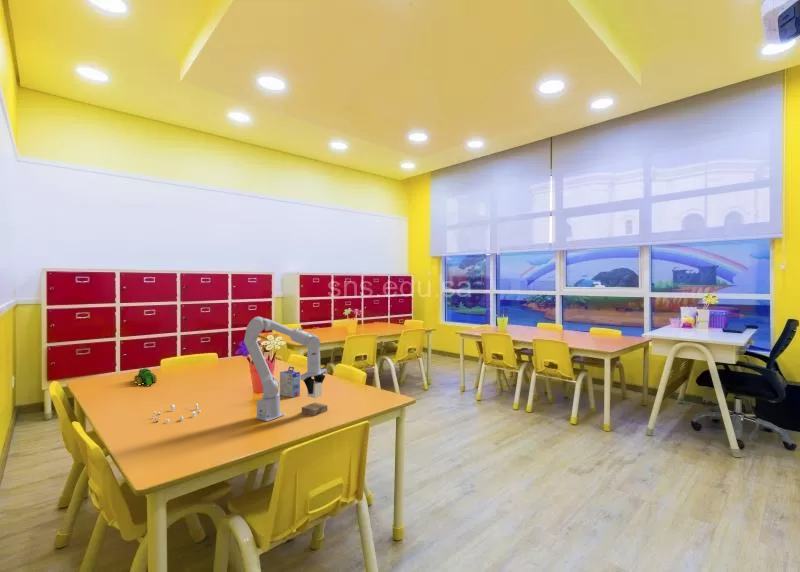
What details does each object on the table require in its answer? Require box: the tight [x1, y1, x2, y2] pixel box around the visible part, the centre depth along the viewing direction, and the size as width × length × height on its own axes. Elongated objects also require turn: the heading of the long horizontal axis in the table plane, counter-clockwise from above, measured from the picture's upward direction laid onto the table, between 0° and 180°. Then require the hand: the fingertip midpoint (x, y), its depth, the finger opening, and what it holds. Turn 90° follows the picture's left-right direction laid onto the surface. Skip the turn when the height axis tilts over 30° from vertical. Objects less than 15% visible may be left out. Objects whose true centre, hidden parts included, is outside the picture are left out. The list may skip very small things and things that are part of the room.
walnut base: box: [301, 402, 328, 417], centre depth 177 cm, size 8×8×3 cm
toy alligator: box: [133, 367, 158, 386], centre depth 238 cm, size 10×32×9 cm, turn 43°
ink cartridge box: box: [279, 366, 301, 398], centre depth 204 cm, size 10×6×14 cm, turn 58°
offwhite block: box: [307, 381, 323, 399], centre depth 177 cm, size 4×5×6 cm
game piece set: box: [152, 403, 202, 423], centre depth 176 cm, size 19×20×4 cm
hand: (314, 392), depth 177 cm, fingers closed on offwhite block, 4 cm apart
